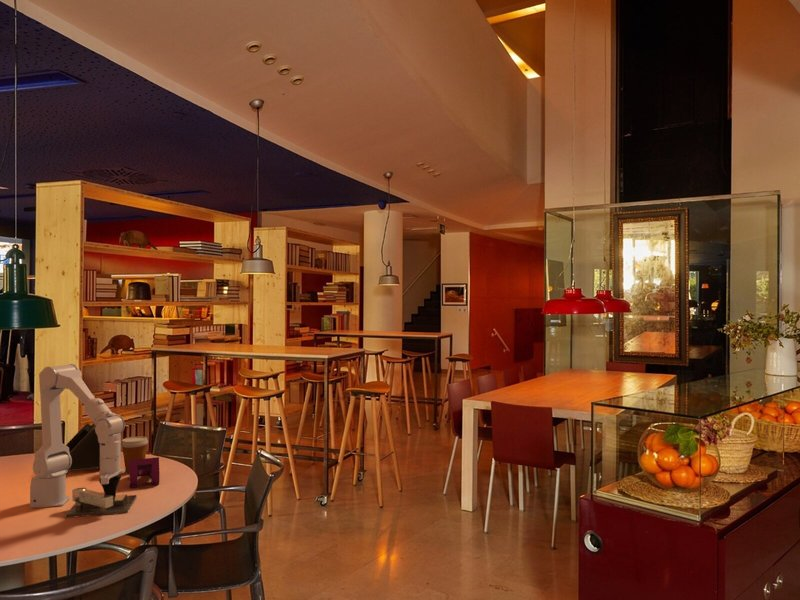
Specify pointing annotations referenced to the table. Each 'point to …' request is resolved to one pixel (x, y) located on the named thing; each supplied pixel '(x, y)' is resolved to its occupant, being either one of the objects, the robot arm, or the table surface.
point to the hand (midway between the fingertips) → (110, 501)
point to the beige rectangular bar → (92, 497)
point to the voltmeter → (85, 449)
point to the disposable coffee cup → (133, 449)
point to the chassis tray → (119, 506)
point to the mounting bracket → (144, 470)
